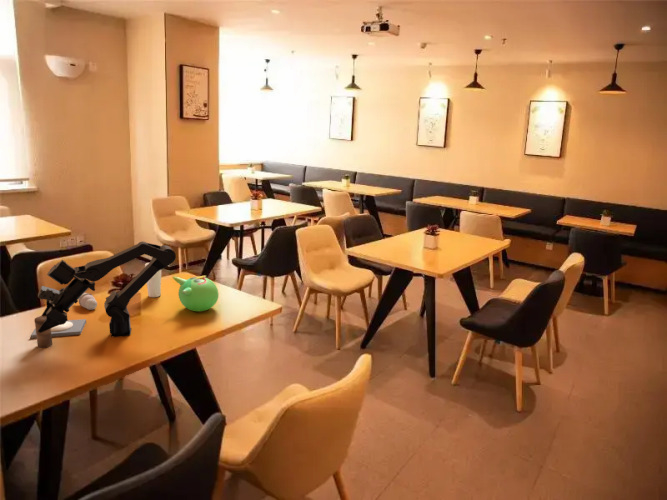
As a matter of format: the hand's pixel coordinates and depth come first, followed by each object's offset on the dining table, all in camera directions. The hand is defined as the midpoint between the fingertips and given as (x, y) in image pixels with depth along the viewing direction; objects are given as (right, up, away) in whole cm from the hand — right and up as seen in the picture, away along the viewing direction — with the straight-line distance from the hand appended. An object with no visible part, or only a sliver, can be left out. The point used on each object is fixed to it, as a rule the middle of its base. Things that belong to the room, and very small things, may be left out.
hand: (39, 326), depth 168 cm
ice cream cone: (-4, +2, +39) cm, 39 cm away
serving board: (-1, -3, +15) cm, 15 cm away
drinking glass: (+20, +5, +54) cm, 58 cm away
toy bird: (+43, +1, +40) cm, 59 cm away
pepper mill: (+1, -7, +2) cm, 7 cm away
